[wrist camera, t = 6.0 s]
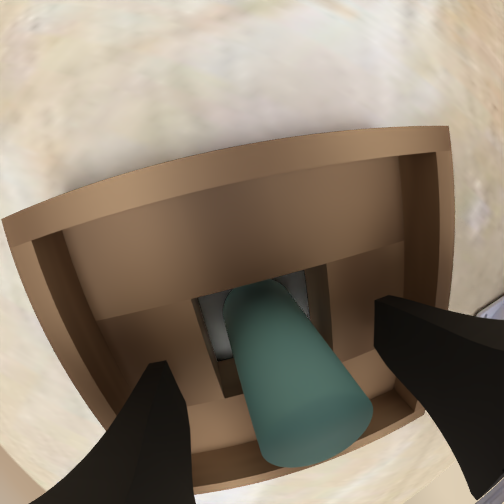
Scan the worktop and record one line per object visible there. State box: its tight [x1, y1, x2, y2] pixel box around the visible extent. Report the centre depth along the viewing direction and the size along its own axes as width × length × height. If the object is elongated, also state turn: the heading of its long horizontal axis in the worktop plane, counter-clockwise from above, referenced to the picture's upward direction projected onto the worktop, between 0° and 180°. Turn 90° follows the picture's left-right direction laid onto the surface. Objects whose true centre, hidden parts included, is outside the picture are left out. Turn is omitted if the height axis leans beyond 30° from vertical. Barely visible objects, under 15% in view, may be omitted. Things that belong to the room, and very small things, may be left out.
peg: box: [223, 279, 373, 468], centre depth 10 cm, size 3×3×7 cm
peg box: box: [1, 126, 455, 495], centre depth 11 cm, size 13×13×4 cm
